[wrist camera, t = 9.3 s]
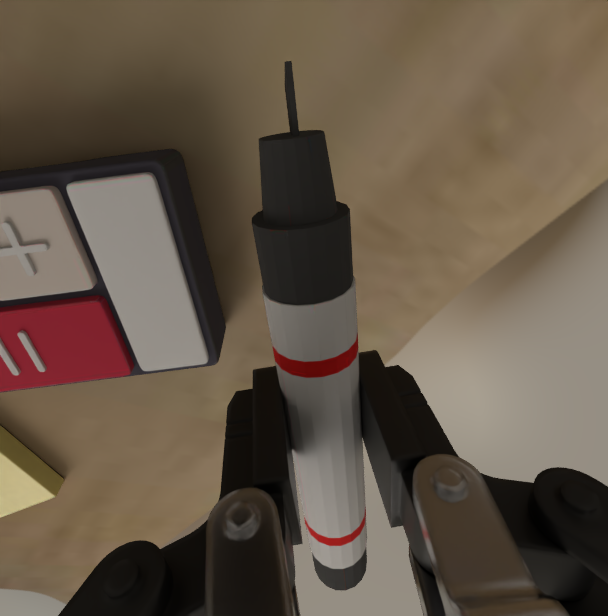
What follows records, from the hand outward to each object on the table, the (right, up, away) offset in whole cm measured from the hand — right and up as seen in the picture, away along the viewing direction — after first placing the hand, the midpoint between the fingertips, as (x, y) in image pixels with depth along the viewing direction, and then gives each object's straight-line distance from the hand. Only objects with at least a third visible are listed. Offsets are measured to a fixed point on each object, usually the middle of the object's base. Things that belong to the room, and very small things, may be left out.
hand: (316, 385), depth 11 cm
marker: (0, 0, 0) cm, 0 cm away
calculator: (-13, +4, +11) cm, 18 cm away
